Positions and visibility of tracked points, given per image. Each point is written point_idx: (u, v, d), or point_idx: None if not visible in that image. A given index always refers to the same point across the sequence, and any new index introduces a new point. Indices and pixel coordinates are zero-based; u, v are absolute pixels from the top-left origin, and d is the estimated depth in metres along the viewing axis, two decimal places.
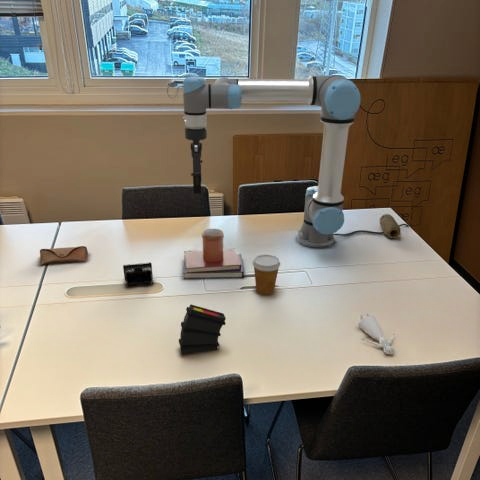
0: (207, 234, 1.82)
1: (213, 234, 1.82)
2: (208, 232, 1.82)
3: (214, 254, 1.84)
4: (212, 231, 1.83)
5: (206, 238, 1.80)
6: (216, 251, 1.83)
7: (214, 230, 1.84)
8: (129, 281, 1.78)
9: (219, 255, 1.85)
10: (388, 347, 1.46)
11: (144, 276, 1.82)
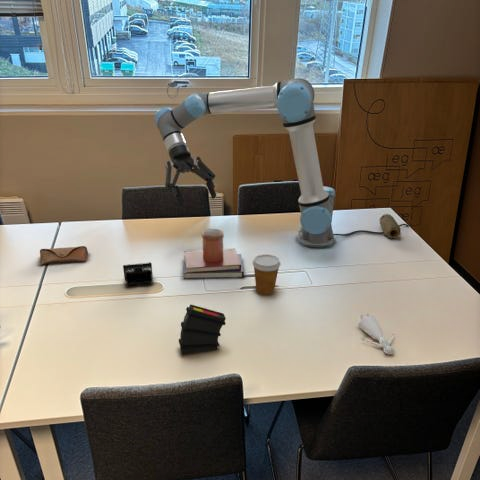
0: (207, 234, 1.82)
1: (213, 234, 1.82)
2: (208, 232, 1.82)
3: (214, 254, 1.83)
4: (212, 231, 1.83)
5: (206, 238, 1.80)
6: (216, 251, 1.83)
7: (214, 230, 1.84)
8: (129, 281, 1.78)
9: (219, 255, 1.85)
10: (388, 347, 1.46)
11: (144, 276, 1.82)
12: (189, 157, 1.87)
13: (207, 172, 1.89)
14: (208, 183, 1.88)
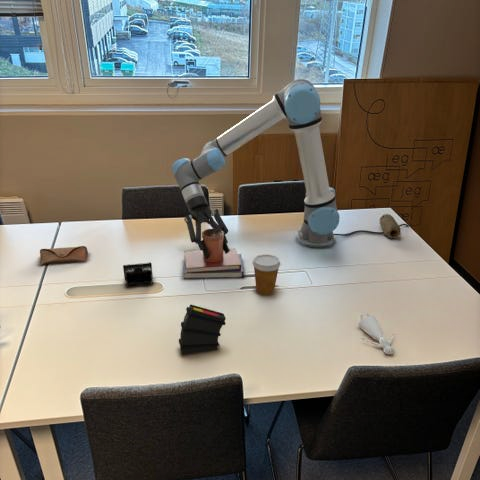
0: (207, 234, 1.82)
1: (213, 234, 1.82)
2: (208, 232, 1.82)
3: (214, 254, 1.83)
4: (212, 231, 1.83)
5: (206, 238, 1.80)
6: (216, 251, 1.83)
7: (214, 230, 1.84)
8: (129, 281, 1.78)
9: (219, 255, 1.85)
10: (388, 347, 1.46)
11: (144, 276, 1.82)
12: (207, 207, 1.87)
13: (221, 226, 1.88)
14: None
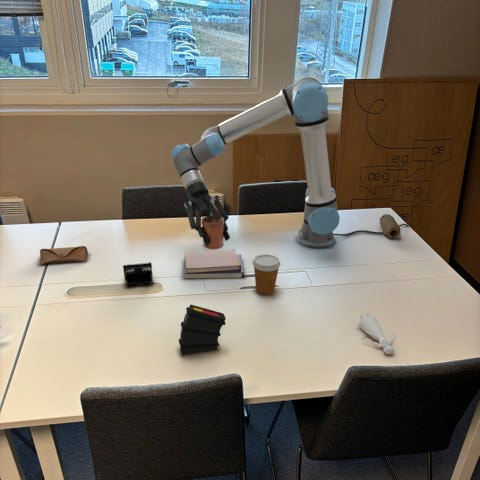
0: (207, 220, 1.79)
1: (213, 220, 1.79)
2: (208, 219, 1.80)
3: (214, 241, 1.81)
4: (212, 218, 1.80)
5: (206, 224, 1.78)
6: (216, 237, 1.80)
7: (214, 216, 1.82)
8: (129, 281, 1.78)
9: (219, 242, 1.82)
10: (388, 347, 1.46)
11: (144, 276, 1.82)
12: (206, 194, 1.84)
13: (221, 212, 1.85)
14: None
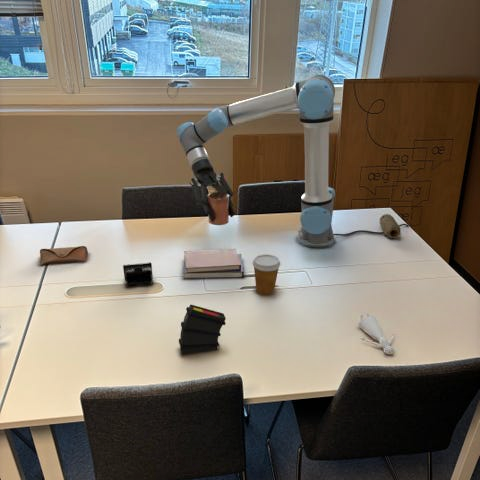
0: (213, 196, 1.83)
1: (218, 196, 1.83)
2: (214, 195, 1.83)
3: (220, 217, 1.85)
4: (218, 194, 1.84)
5: (212, 200, 1.81)
6: (221, 213, 1.84)
7: (219, 193, 1.86)
8: (129, 281, 1.78)
9: (225, 218, 1.86)
10: (388, 347, 1.46)
11: (144, 276, 1.82)
12: (212, 171, 1.88)
13: (226, 189, 1.89)
14: None
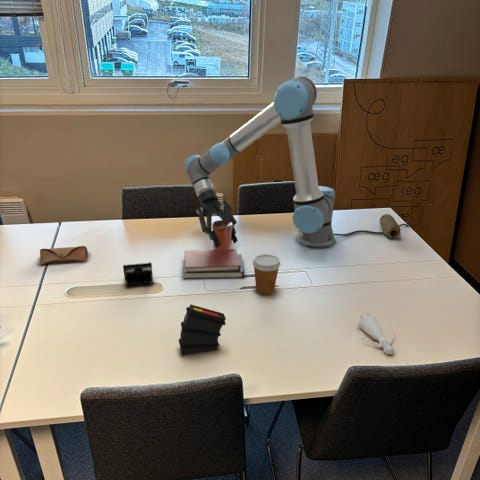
0: (217, 225, 1.97)
1: (222, 225, 1.97)
2: (218, 224, 1.98)
3: (224, 243, 1.99)
4: (222, 223, 1.99)
5: (216, 228, 1.96)
6: (225, 240, 1.98)
7: (223, 221, 2.00)
8: (129, 281, 1.78)
9: (228, 244, 2.00)
10: (388, 347, 1.46)
11: (144, 276, 1.82)
12: (216, 200, 2.02)
13: (230, 217, 2.03)
14: None
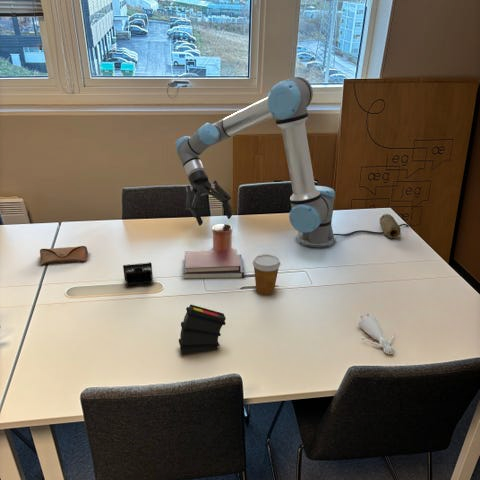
0: (217, 229, 1.98)
1: (222, 229, 1.98)
2: (218, 227, 1.99)
3: (223, 247, 2.00)
4: (222, 226, 2.00)
5: (216, 232, 1.97)
6: (225, 244, 1.99)
7: (223, 225, 2.01)
8: (129, 281, 1.78)
9: (228, 248, 2.01)
10: (388, 347, 1.46)
11: (144, 276, 1.82)
12: (207, 181, 2.04)
13: (223, 194, 2.06)
14: (224, 205, 2.05)
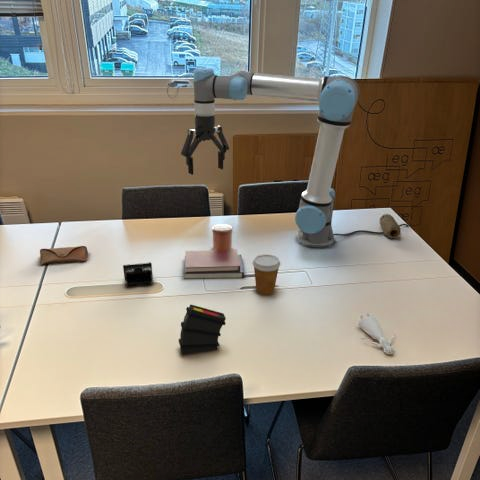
0: (217, 229, 1.98)
1: (222, 229, 1.98)
2: (218, 227, 1.99)
3: (223, 247, 2.00)
4: (222, 226, 2.00)
5: (216, 232, 1.97)
6: (225, 244, 1.99)
7: (223, 225, 2.01)
8: (129, 281, 1.78)
9: (228, 248, 2.01)
10: (388, 347, 1.46)
11: (144, 276, 1.82)
12: (212, 126, 1.91)
13: (223, 143, 1.97)
14: (220, 154, 1.99)
